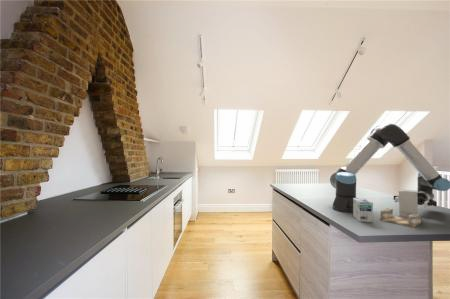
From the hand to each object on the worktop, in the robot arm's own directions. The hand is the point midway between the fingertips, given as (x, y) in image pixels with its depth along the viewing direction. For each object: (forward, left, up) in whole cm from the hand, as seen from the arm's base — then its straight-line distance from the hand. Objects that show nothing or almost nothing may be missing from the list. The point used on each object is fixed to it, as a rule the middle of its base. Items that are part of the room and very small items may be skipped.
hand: (409, 202), depth 132 cm
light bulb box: (-14, -26, -9) cm, 31 cm away
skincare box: (-1, 0, -9) cm, 9 cm away
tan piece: (-1, -13, -9) cm, 16 cm away
